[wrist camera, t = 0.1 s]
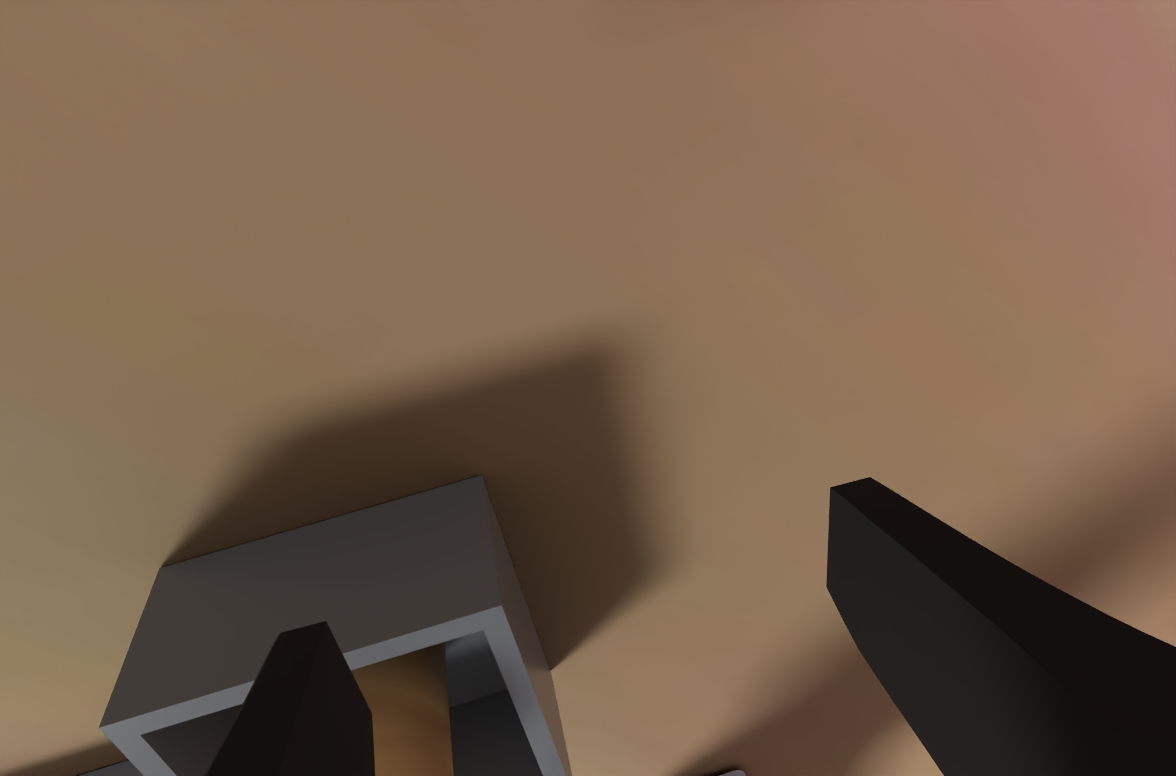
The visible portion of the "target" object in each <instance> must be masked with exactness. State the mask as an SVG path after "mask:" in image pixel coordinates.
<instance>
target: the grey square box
mask: <svg viewBox="0 0 1176 776" xmlns="http://www.w3.org/2000/svg"><path fill="white" fill-rule="evenodd" d="M323 621H327V623H328V626H329V628H330V630H331V632H332V634H333V636H334V638H335V640H336V642H337V644H338V646H339V648H340V650H341V652H342V654H343V656H344V658H345V660H346V662H347V664H348V666H349V668H350V670H354V669H357V668H360V667H364V666H367V665H370V664H373V663H377V662H380V661H383V660H387V659H390V658H393V657H396V656H400V655H403V654H406V653H409V652H413V651H416V650H419V649H422V648H426V647H429V646H432V645H436V644H439V643H442V642H445V652H446V667H447V683H448V698H449V714H450V729H451V745H452V760H453V775H454V776H572V772H571V768H570V763H569V758H568V753H567V748H566V743H565V738H564V734H563V729H562V724H561V719H560V714H559V709H558V705H557V700H556V695H555V690H554V685H553V680H552V675H551V671H550V668H549V666H548V663H547V660H546V657H545V654H544V651H543V648H542V646H541V643H540V640H539V637H538V634H537V631H536V628H535V626H534V623H533V620H532V617H531V614H530V611H529V608H528V606H527V603H526V600H525V597H524V594H523V591H522V588H521V586H520V583H519V580H518V577H517V574H516V571H515V568H514V566H513V563H512V560H511V557H510V554H509V551H508V548H507V546H506V543H505V540H504V537H503V534H502V531H501V528H500V526H499V523H498V520H497V517H496V514H495V511H494V508H493V506H492V503H491V500H490V497H489V494H488V491H487V488H486V486H485V483H484V480H483V477H482V475H480V476H477V477H473V478H470V479H466V480H463V481H459V482H456V483H452V484H449V485H445V486H442V487H439V488H435V489H432V490H428V491H425V492H421V493H418V494H414V495H411V496H407V497H404V498H401V499H397V500H394V501H390V502H387V503H383V504H380V505H376V506H373V507H369V508H366V509H363V510H359V511H356V512H352V513H349V514H345V515H342V516H338V517H335V518H331V519H328V520H325V521H321V522H318V523H314V524H311V525H307V526H304V527H300V528H297V529H293V530H290V531H287V532H283V533H280V534H276V535H273V536H269V537H266V538H262V539H259V540H255V541H252V542H249V543H245V544H242V545H238V546H235V547H231V548H228V549H224V550H221V551H217V552H214V553H211V554H207V555H204V556H200V557H197V558H193V559H190V560H186V561H183V562H179V563H176V564H173V565H169V566H166V567H162V568H159V571H158V574H157V576H156V579H155V581H154V584H153V587H152V589H151V592H150V595H149V597H148V600H147V603H146V605H145V608H144V610H143V613H142V616H141V618H140V621H139V624H138V626H137V629H136V631H135V634H134V637H133V639H132V642H131V645H130V647H129V650H128V652H127V655H126V658H125V660H124V663H123V666H122V668H121V671H120V674H119V676H118V679H117V681H116V684H115V687H114V689H113V692H112V695H111V697H110V700H109V702H108V705H107V708H106V710H105V713H104V716H103V718H102V721H101V723H100V726H99V729H100V730H101V731H102V732H103V733H104V734H105V735H106V736H107V737H108V738H109V739H110V740H111V741H112V742H113V743H114V745H115V746H116V747H117V748H118V749H119V750H120V751H121V752H122V753H123V754H124V755H125V756H126V757H127V758H128V759H129V760H130V761H131V763H132V764H133V765H134V766H135V767H136V768H137V769H138V770H139V771H140V772H141V773H142V774H143V775H144V776H204V775H205V773H206V771H207V770H208V768H209V766H210V764H211V762H212V760H213V759H214V757H215V755H216V753H217V751H218V750H219V748H220V746H221V744H222V742H223V740H224V739H225V737H226V735H227V733H228V731H229V729H230V727H231V725H232V723H233V721H234V720H235V718H236V716H237V714H238V712H239V710H240V708H241V706H242V704H243V702H244V700H245V698H246V696H247V695H248V693H249V691H250V689H251V687H252V685H253V683H254V681H255V679H256V677H257V675H258V673H259V671H260V669H261V667H262V665H263V663H264V661H265V659H266V657H267V655H268V653H269V651H270V649H271V647H272V645H273V643H274V641H275V640H276V638H277V637H278V635H279V634H280V633H282V632H285V631H289V630H293V629H297V628H301V627H304V626H308V625H312V624H316V623H320V622H323Z"/></svg>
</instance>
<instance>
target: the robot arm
mask: <svg viewBox="0 0 1176 776" xmlns="http://www.w3.org/2000/svg"><path fill="white" fill-rule="evenodd" d="M826 587H827V589H828V591H829V593H830V595H831V597H832V599H833V601H834V603H835V605H836V607H837V609H838V611H839V613H840V615H841V617H842V619H843V621H844V623H845V624H846V626H847V628H848V630H849V632H850V634H851V636H852V638H853V639H854V641H855V643H856V645H857V647H858V649H859V651H860V652H861V654H862V655H863V657H864V658H865V660H866V661H867V663H868V664H869V666H870V667H871V669H872V670H873V672H874V673H875V675H876V676H877V678H878V679H879V681H880V682H881V684H882V685H883V687H884V688H885V690H886V691H887V693H888V694H889V696H890V697H891V699H892V700H893V702H894V703H895V704H896V706H897V707H898V709H899V710H900V712H901V713H902V715H903V716H904V718H905V719H906V721H907V722H908V723H909V725H910V726H911V728H912V729H913V731H914V732H915V734H916V735H917V737H918V738H919V740H920V741H921V743H922V744H923V745H924V747H925V748H926V750H927V751H928V753H929V754H930V756H931V757H932V759H933V760H934V762H935V763H936V765H937V766H938V767H939V769H940V770H941V772H942V773H943V775H944V776H1176V647H1175V646H1172V645H1170V644H1168V643H1166V642H1164V641H1161V640H1159V639H1157V638H1155V637H1153V636H1151V635H1148V634H1146V633H1144V632H1142V631H1140V630H1138V629H1136V628H1134V627H1132V626H1129V625H1127V624H1125V623H1123V622H1121V621H1119V620H1117V619H1115V618H1113V617H1111V616H1109V615H1107V614H1105V613H1103V612H1101V611H1099V610H1098V609H1096V608H1094V607H1092V606H1090V605H1088V604H1086V603H1084V602H1082V601H1080V600H1078V599H1077V598H1075V597H1073V596H1071V595H1069V594H1067V593H1065V592H1063V591H1061V590H1059V589H1057V588H1056V587H1054V586H1052V585H1050V584H1048V583H1047V582H1045V581H1043V580H1041V579H1039V578H1037V577H1036V576H1034V575H1032V574H1030V573H1028V572H1027V571H1025V570H1023V569H1021V568H1020V567H1018V566H1016V565H1014V564H1013V563H1011V562H1009V561H1007V560H1006V559H1004V558H1002V557H1001V556H999V555H997V554H995V553H994V552H992V551H990V550H989V549H987V548H985V547H984V546H982V545H980V544H979V543H977V542H975V541H973V540H972V539H970V538H968V537H967V536H965V535H963V534H962V533H960V532H959V531H957V530H955V529H954V528H952V527H950V526H949V525H947V524H946V523H944V522H942V521H941V520H939V519H937V518H936V517H934V516H932V515H931V514H929V513H928V512H926V511H924V510H923V509H921V508H920V507H918V506H916V505H915V504H913V503H912V502H910V501H908V500H907V499H905V498H904V497H902V496H900V495H899V494H897V493H895V492H894V491H892V490H891V489H889V488H887V487H886V486H884V485H882V484H881V483H879V482H877V481H876V480H874V479H872V478H871V477H868V478H865V479H861V480H857V481H853V482H849V483H846V484H842V485H838V486H834V487H830V509H829V535H828V561H827V586H826ZM204 776H375V757H374V739H373V721H372V712H371V710H370V708H369V706H368V704H367V702H366V700H365V698H364V696H363V694H362V692H361V690H360V688H359V686H358V684H357V682H356V680H355V678H354V676H353V674H352V672H351V670H350V668H349V666H348V664H347V662H346V660H345V658H344V656H343V654H342V652H341V650H340V648H339V646H338V644H337V642H336V640H335V638H334V636H333V634H332V632H331V630H330V628H329V626H328V623H327V621H323V622H320V623H316V624H312V625H308V626H304V627H301V628H297V629H293V630H289V631H285V632H282V633H280V634H279V635H278V637H277V638H276V640H275V641H274V643H273V645H272V647H271V649H270V651H269V653H268V655H267V657H266V659H265V661H264V663H263V665H262V667H261V669H260V671H259V673H258V675H257V677H256V679H255V681H254V683H253V685H252V687H251V689H250V691H249V693H248V695H247V696H246V698H245V700H244V702H243V704H242V706H241V708H240V710H239V712H238V714H237V716H236V718H235V720H234V721H233V723H232V725H231V727H230V729H229V731H228V733H227V735H226V737H225V739H224V740H223V742H222V744H221V746H220V748H219V750H218V751H217V753H216V755H215V757H214V759H213V760H212V762H211V764H210V766H209V768H208V770H207V771H206V773H205V775H204ZM719 776H746V774H745V772H743V771H741V770H735V771H731V772H728V773H725V774H722V775H719Z"/></svg>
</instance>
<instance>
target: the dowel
mask: <svg viewBox="0 0 1176 776" xmlns="http://www.w3.org/2000/svg"><path fill="white" fill-rule="evenodd" d="M351 672H352V674H353V676H354V678H355V680H356V682H357V684H358V686H359V688H360V690H361V692H362V694H363V696H364V698H365V700H366V702H367V704H368V706H369V708H370V710H371V712H372V721H373V739H374V757H375V776H454V775H453V760H452V745H451V729H450V714H449V698H448V683H447V667H446V652H445V642H442V643H439V644H436V645H432V646H429V647H426V648H422V649H419V650H416V651H413V652H409V653H406V654H403V655H400V656H396V657H393V658H390V659H387V660H383V661H380V662H377V663H373V664H370V665H367V666H364V667H360V668H357V669H354V670H351Z"/></svg>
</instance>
